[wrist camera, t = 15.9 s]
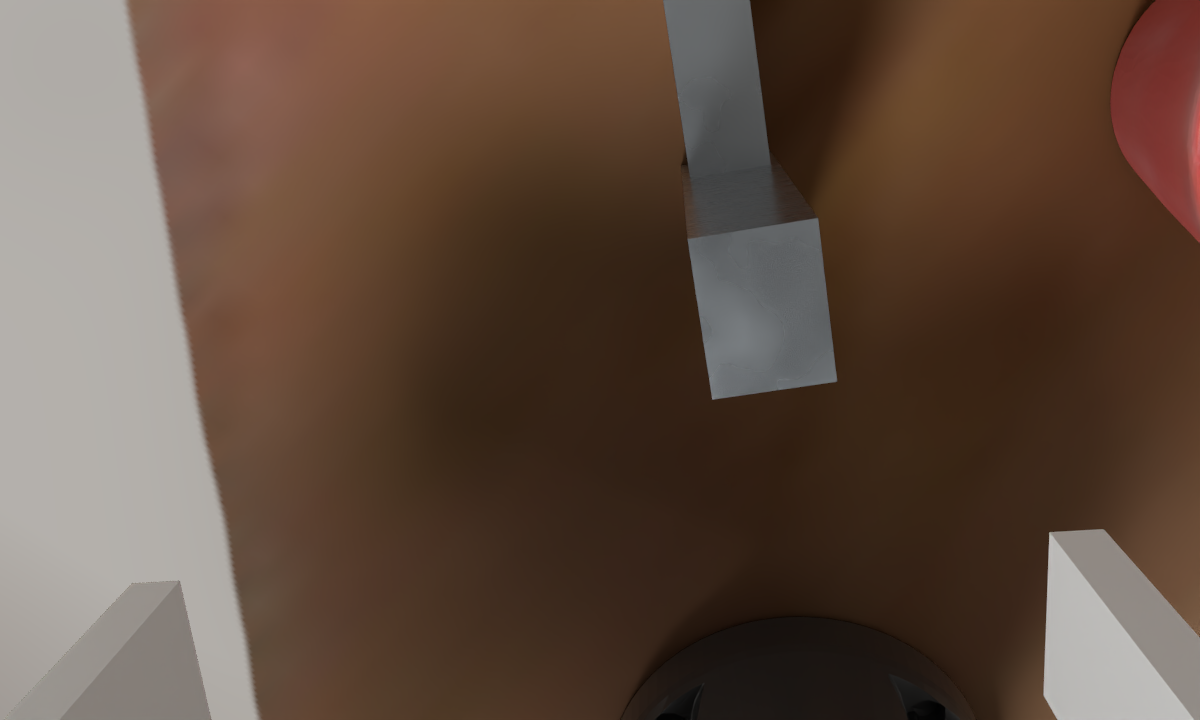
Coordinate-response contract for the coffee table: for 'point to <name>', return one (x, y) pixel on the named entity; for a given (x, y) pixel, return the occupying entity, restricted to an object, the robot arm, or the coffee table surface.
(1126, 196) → the coffee table surface
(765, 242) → the crook
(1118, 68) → the flower pot
